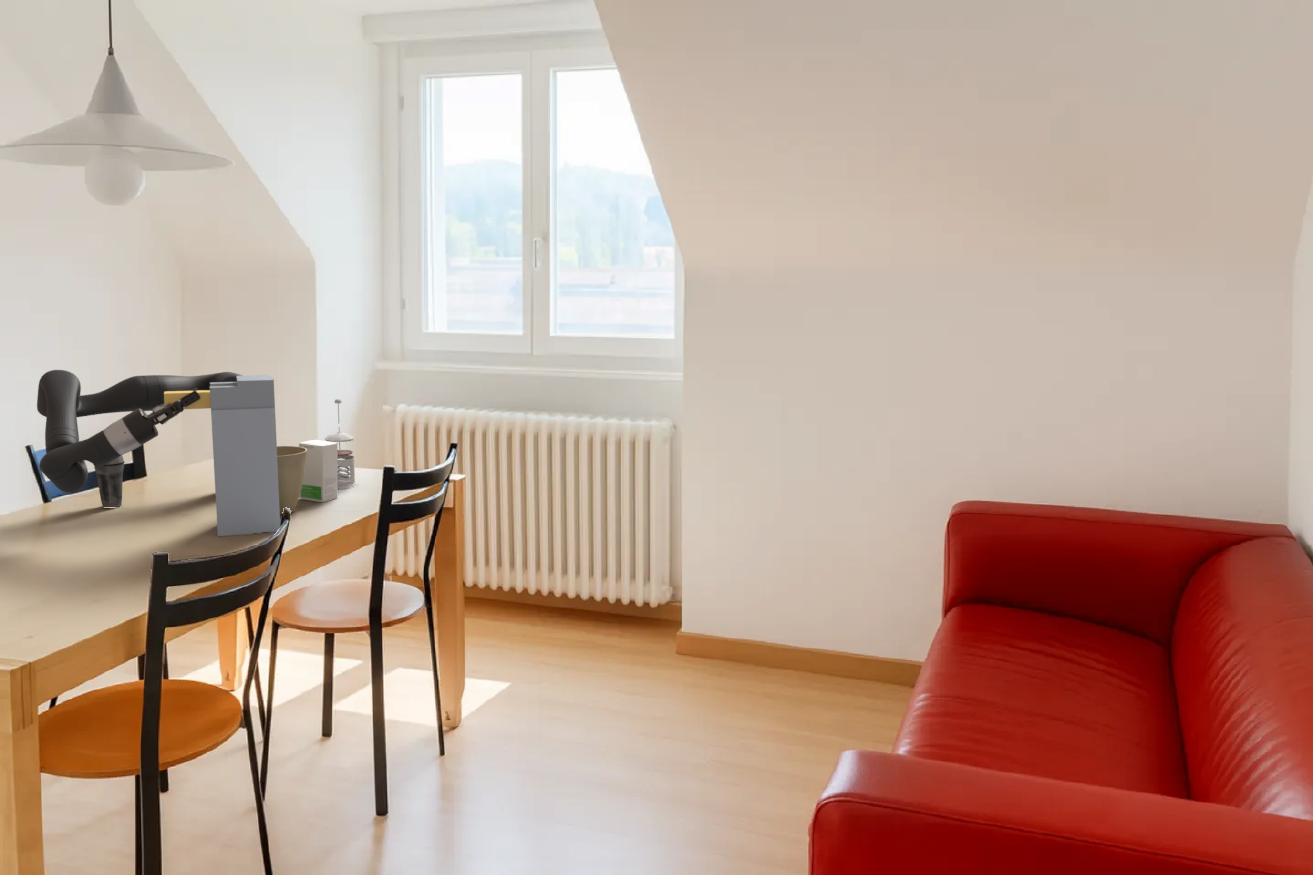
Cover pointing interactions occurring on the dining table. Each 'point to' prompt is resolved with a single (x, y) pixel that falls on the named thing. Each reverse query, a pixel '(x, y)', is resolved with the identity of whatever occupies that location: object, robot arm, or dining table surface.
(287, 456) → the plant pot
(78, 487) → the robot arm
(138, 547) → the dining table surface
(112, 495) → the beverage cup
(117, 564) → the dining table surface
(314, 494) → the skincare box
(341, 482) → the french press
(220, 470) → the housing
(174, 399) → the bar
